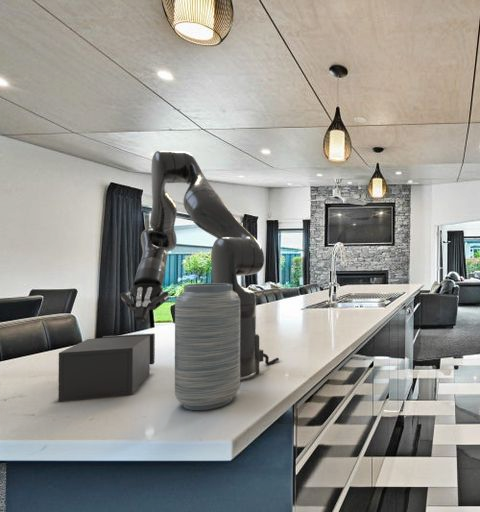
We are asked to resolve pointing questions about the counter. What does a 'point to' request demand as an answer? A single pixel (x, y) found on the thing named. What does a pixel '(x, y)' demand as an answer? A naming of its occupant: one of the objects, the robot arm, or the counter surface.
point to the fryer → (103, 367)
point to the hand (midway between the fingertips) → (139, 320)
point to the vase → (207, 345)
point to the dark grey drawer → (152, 344)
